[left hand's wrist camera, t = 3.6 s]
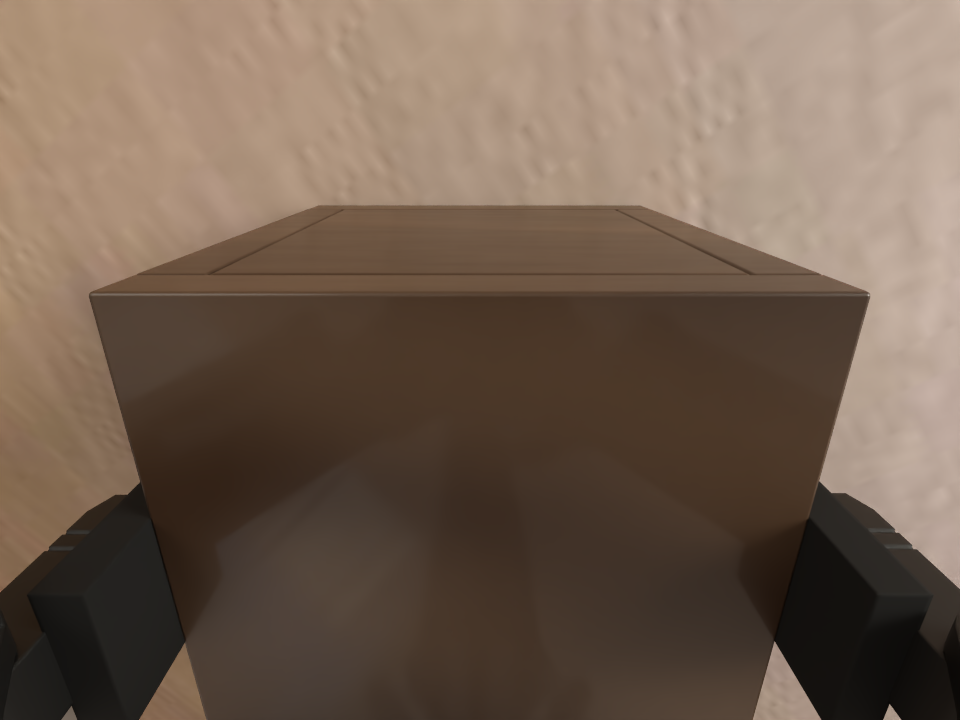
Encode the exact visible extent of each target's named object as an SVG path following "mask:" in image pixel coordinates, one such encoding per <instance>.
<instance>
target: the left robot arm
mask: <svg viewBox="0 0 960 720" xmlns="http://www.w3.org/2000/svg"><path fill="white" fill-rule="evenodd" d="M775 642H776V644H777V646H778V647H779V649H780V651H781V652H782V654H783V656H784V657H785V659H786V661H787V662H788V664H789V666H790V668H791V669H792V671H793V673H794V674H795V676H796V678H797V679H798V681H799V683H800V684H801V686H802V688H803V689H804V691H805V693H806V694H807V696H808V698H809V700H810V701H811V703H812V705H813V706H814V708H815V710H816V711H817V713H818V715H819V716H820V718H821V720H883V719H884V716H885V714H886V711H887V709H888V706H889V704H890V705H891V706H892V707H893V709H894V710H895V712H896V713H897V714H898V716H899V717H900V718H901V720H960V589H959V588H958V587H957V586H956V585H955V584H954V583H952V582H951V581H950V580H949V579H948V578H947V577H946V576H945V575H944V574H943V573H942V572H941V571H939V570H938V569H937V568H936V567H935V566H934V565H933V564H932V563H931V562H930V561H929V560H928V559H926V558H925V557H924V556H923V555H922V554H921V553H920V552H919V551H918V550H917V549H913V548H912V545H911V544H910V543H909V542H908V541H907V540H906V539H905V538H904V537H903V536H902V535H901V534H899V533H895V529H894V528H893V527H892V526H891V525H890V524H889V523H888V522H886V521H885V520H884V519H883V518H882V517H881V516H880V515H879V514H878V513H877V512H876V511H875V510H873V509H872V508H870V507H868V506H866V505H865V504H863V503H861V502H860V501H858V500H856V499H854V498H853V497H851V496H849V495H848V494H846V493H831V492H830V491H828V490H827V489H826V488H825V487H824V486H823V485H822V484H821V483H820V482H819V483H818V486H817V490H816V493H815V497H814V501H813V504H812V508H811V511H810V515H809V519H808V522H807V526H806V529H805V533H804V537H803V540H802V544H801V547H800V551H799V555H798V558H797V562H796V565H795V569H794V572H793V576H792V580H791V583H790V587H789V590H788V594H787V598H786V601H785V605H784V608H783V612H782V616H781V619H780V623H779V626H778V630H777V634H776V637H775ZM184 643H185V640H184V637H183V633H182V629H181V626H180V622H179V619H178V615H177V611H176V608H175V604H174V601H173V597H172V593H171V590H170V586H169V583H168V579H167V575H166V572H165V568H164V565H163V561H162V557H161V554H160V550H159V547H158V543H157V539H156V536H155V532H154V529H153V525H152V521H151V518H150V514H149V511H148V507H147V503H146V500H145V496H144V493H143V489H142V485H141V482H140V483H139V484H138V485H137V486H136V487H135V488H134V489H133V490H132V491H131V492H130V493H129V494H128V495H115V496H113V497H111V498H109V499H108V500H106V501H104V502H103V503H101V504H99V505H98V506H96V507H94V508H92V509H91V510H89V511H87V512H86V513H85V514H84V515H83V516H82V517H81V518H80V519H79V520H78V521H77V522H75V523H74V524H73V525H72V526H71V527H70V528H69V529H68V530H67V533H66V535H61V536H60V537H59V538H58V539H57V540H56V541H55V542H54V543H53V544H52V545H51V546H50V547H49V550H48V551H44V552H43V553H42V554H41V555H40V556H39V557H38V558H37V559H36V560H35V561H34V562H33V563H31V564H30V565H29V566H28V567H27V568H26V569H25V570H24V571H23V572H22V573H21V574H20V575H19V576H17V577H16V578H15V579H14V580H13V581H12V582H11V583H10V584H9V585H8V586H7V587H6V588H5V589H4V590H2V591H1V592H0V720H61V719H62V718H63V716H64V715H65V714H66V712H67V711H68V710H69V708H70V707H71V705H72V708H73V710H74V713H75V715H76V717H77V720H139V719H140V717H141V715H142V714H143V712H144V710H145V709H146V707H147V705H148V704H149V702H150V700H151V698H152V697H153V695H154V693H155V692H156V690H157V688H158V687H159V685H160V683H161V682H162V680H163V678H164V677H165V675H166V673H167V672H168V670H169V668H170V666H171V665H172V663H173V661H174V660H175V658H176V656H177V655H178V653H179V651H180V650H181V648H182V646H183V645H184Z"/></svg>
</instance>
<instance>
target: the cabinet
mask: <svg viewBox="0 0 960 720" xmlns="http://www.w3.org/2000/svg"><path fill="white" fill-rule="evenodd" d="M89 298H90V302H91V305H92V309H93V313H94V316H95V320H96V323H97V327H98V331H99V334H100V338H101V341H102V345H103V349H104V352H105V356H106V359H107V363H108V367H109V370H110V374H111V377H112V381H113V385H114V388H115V392H116V395H117V399H118V403H119V406H120V410H121V413H122V417H123V421H124V424H125V428H126V431H127V435H128V439H129V442H130V446H131V449H132V453H133V457H134V460H135V464H136V467H137V471H138V475H139V478H140V482H141V485H142V489H143V493H144V496H145V500H146V503H147V507H148V511H149V514H150V518H151V521H152V525H153V529H154V532H155V536H156V539H157V543H158V547H159V550H160V554H161V557H162V561H163V565H164V568H165V572H166V575H167V579H168V583H169V586H170V590H171V593H172V597H173V601H174V604H175V608H176V611H177V615H178V619H179V622H180V626H181V629H182V633H183V637H184V640H185V644H186V647H187V651H188V655H189V658H190V662H191V665H192V669H193V673H194V676H195V680H196V683H197V687H198V691H199V694H200V698H201V701H202V705H203V709H204V712H205V716H206V719H207V720H753V716H754V713H755V709H756V706H757V702H758V698H759V695H760V691H761V688H762V684H763V680H764V677H765V673H766V670H767V666H768V662H769V659H770V655H771V652H772V648H773V644H774V641H775V637H776V634H777V630H778V626H779V623H780V619H781V616H782V612H783V608H784V605H785V601H786V598H787V594H788V590H789V587H790V583H791V580H792V576H793V572H794V569H795V565H796V562H797V558H798V555H799V551H800V547H801V544H802V540H803V537H804V533H805V529H806V526H807V522H808V519H809V515H810V511H811V508H812V504H813V501H814V497H815V493H816V490H817V486H818V483H819V479H820V475H821V472H822V468H823V465H824V461H825V457H826V454H827V450H828V447H829V443H830V439H831V436H832V432H833V429H834V425H835V421H836V418H837V414H838V411H839V407H840V403H841V400H842V396H843V393H844V389H845V386H846V382H847V378H848V375H849V371H850V368H851V364H852V360H853V357H854V353H855V350H856V346H857V342H858V339H859V335H860V332H861V328H862V324H863V321H864V317H865V314H866V310H867V306H868V303H869V299H870V294H869V292H866V291H864V290H861V289H859V288H856V287H853V286H851V285H848V284H846V283H843V282H840V281H838V280H835V279H832V278H830V277H827V276H824V275H821V274H819V273H816V272H814V271H811V270H808V269H806V268H803V267H801V266H798V265H795V264H793V263H790V262H787V261H785V260H782V259H779V258H777V257H774V256H772V255H769V254H766V253H764V252H761V251H758V250H756V249H753V248H750V247H748V246H745V245H743V244H740V243H737V242H735V241H732V240H729V239H727V238H724V237H721V236H719V235H716V234H714V233H711V232H708V231H706V230H703V229H700V228H698V227H695V226H693V225H690V224H687V223H685V222H682V221H679V220H677V219H674V218H671V217H669V216H666V215H664V214H661V213H658V212H656V211H653V210H650V209H648V208H645V207H642V206H317V207H314V208H311V209H308V210H305V211H303V212H300V213H297V214H295V215H292V216H289V217H287V218H284V219H281V220H279V221H276V222H274V223H271V224H268V225H266V226H263V227H260V228H258V229H255V230H252V231H250V232H247V233H244V234H242V235H239V236H237V237H234V238H231V239H229V240H226V241H223V242H221V243H218V244H215V245H213V246H210V247H207V248H205V249H202V250H200V251H197V252H194V253H192V254H189V255H186V256H184V257H181V258H178V259H176V260H173V261H170V262H168V263H165V264H163V265H160V266H157V267H155V268H152V269H149V270H147V271H144V272H141V273H139V274H137V275H135V276H132V277H129V278H127V279H124V280H121V281H119V282H116V283H114V284H111V285H108V286H106V287H103V288H100V289H98V290H95V291H93V292H91V293H90V294H89Z"/></svg>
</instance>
